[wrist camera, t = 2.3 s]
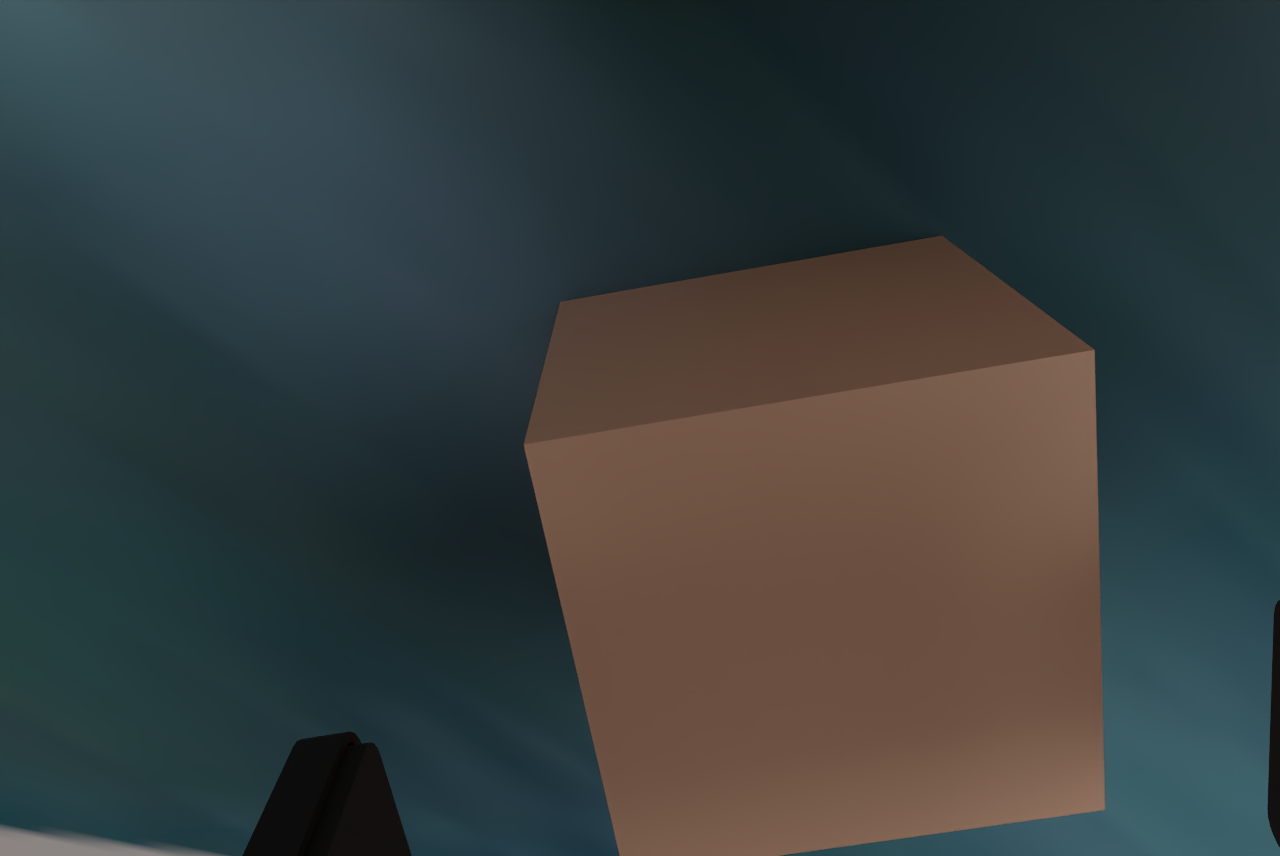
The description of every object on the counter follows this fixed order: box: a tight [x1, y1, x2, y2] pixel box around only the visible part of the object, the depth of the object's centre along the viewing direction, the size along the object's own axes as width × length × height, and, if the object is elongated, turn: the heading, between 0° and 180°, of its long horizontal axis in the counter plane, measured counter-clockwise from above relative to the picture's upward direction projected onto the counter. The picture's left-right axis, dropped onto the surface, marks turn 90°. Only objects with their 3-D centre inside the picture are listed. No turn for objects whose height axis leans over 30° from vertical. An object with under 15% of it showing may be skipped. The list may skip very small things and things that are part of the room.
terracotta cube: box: [524, 236, 1105, 856], centre depth 15 cm, size 6×6×6 cm
